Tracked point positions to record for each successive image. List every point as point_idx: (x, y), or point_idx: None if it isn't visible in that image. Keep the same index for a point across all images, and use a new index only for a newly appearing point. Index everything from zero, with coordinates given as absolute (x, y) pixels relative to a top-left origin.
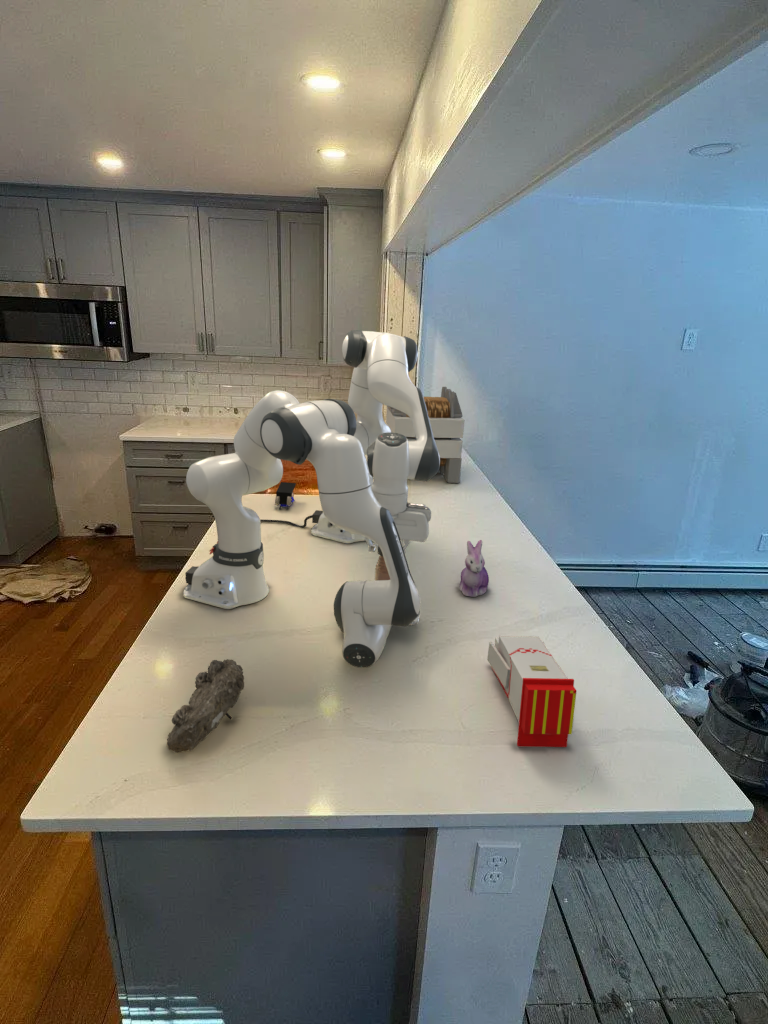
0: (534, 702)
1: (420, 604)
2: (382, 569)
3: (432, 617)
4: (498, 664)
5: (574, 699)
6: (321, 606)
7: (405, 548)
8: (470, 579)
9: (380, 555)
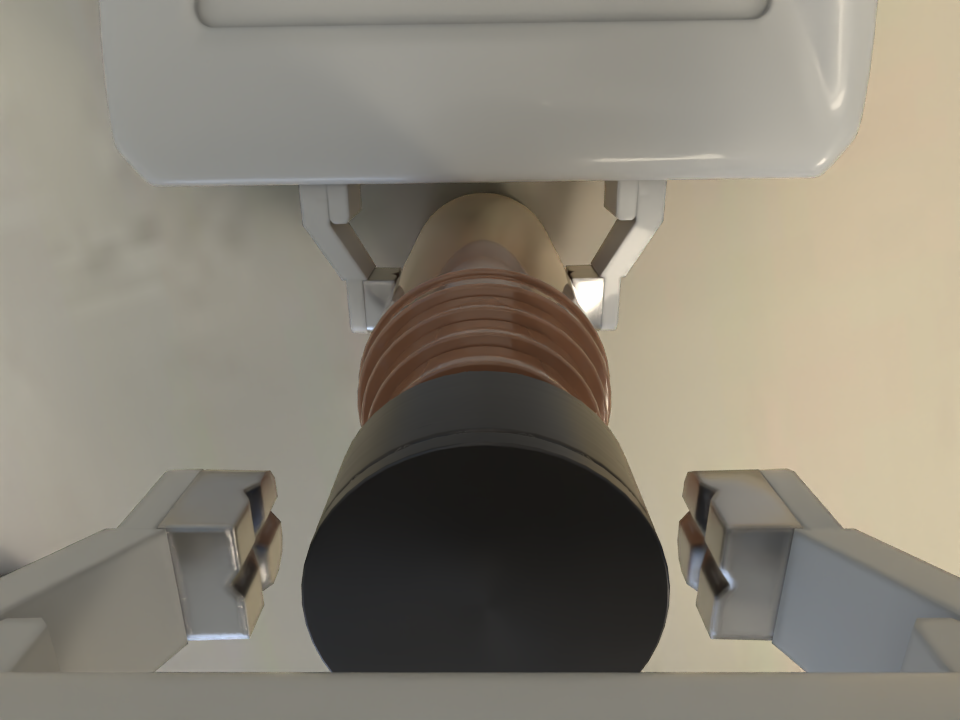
0: None
1: (110, 125)
2: (506, 299)
3: (161, 286)
4: None
5: None
6: (916, 224)
7: (74, 548)
8: None
9: (566, 393)
